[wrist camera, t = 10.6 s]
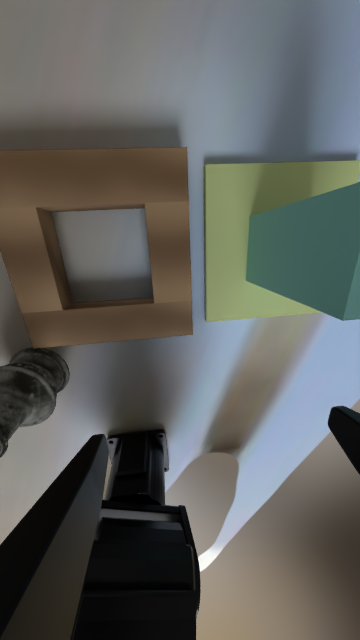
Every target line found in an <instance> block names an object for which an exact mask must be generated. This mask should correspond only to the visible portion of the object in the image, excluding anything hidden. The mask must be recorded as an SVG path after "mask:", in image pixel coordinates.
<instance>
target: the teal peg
mask: <svg viewBox="0 0 360 640" xmlns="http://www.w3.org/2000/svg"><path fill="white" fill-rule="evenodd" d="M246 281H247V282H250V283H252V284H255V285H257V286H260V287H262V288H264V289H267V290H269V291H272V292H274V293H277V294H279V295H282V296H284V297H286V298H289V299H291V300H294V301H296V302H299V303H301V304H304V305H306V306H308V307H311V308H313V309H316V310H318V311H321V312H323V313H326V314H328V315H330V316H333V317H335V318H338V319H340V320H355V319H360V182H358V183H355V184H352V185H348V186H345V187H342V188H339V189H336V190H333V191H329V192H326V193H323V194H320V195H317V196H313V197H310V198H307V199H304V200H301V201H298V202H294V203H291V204H288V205H285V206H282V207H279V208H275V209H272V210H269V211H266V212H263V213H260V214H256V215H253V216H250V218H249V234H248V251H247V267H246Z"/></svg>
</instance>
